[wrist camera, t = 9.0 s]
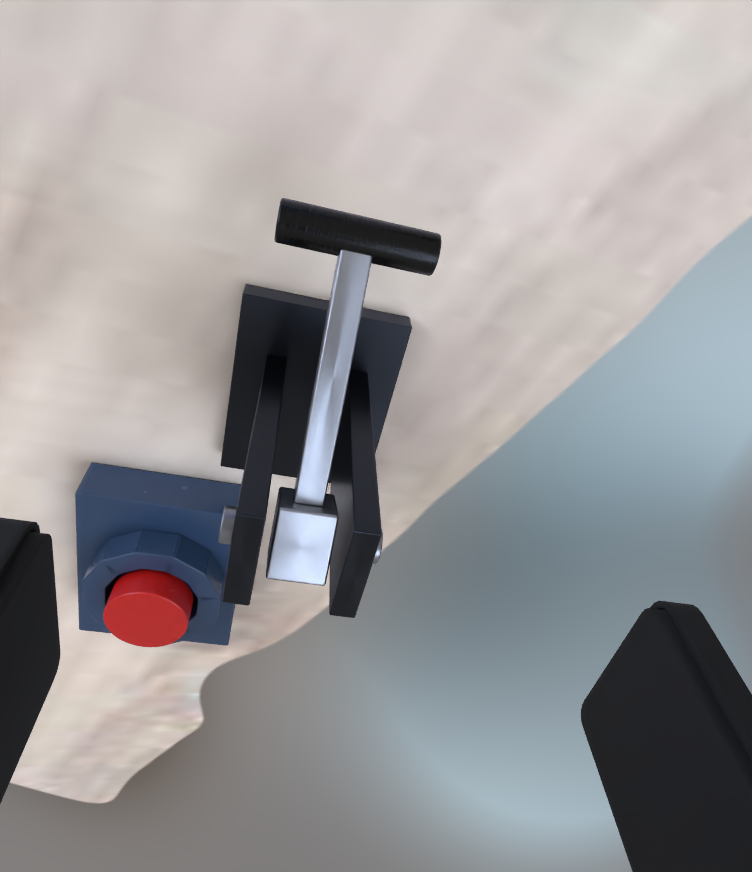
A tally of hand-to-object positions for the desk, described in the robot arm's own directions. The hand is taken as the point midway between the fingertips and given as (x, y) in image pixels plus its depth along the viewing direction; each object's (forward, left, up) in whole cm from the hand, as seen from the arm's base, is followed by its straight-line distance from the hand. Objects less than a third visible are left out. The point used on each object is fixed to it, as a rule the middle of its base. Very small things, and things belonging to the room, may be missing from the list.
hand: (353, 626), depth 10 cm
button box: (+21, -6, -22) cm, 31 cm away
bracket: (+9, 0, -22) cm, 24 cm away
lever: (+4, 0, -14) cm, 15 cm away
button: (+21, -6, -18) cm, 29 cm away
